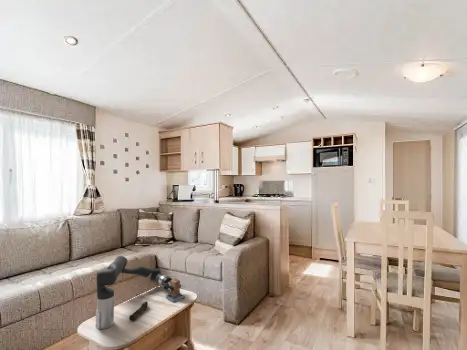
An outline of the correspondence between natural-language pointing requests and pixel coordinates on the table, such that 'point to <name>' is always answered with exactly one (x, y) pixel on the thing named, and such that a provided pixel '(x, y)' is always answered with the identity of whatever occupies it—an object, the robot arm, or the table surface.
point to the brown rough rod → (138, 311)
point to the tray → (175, 297)
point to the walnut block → (175, 288)
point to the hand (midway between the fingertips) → (177, 287)
